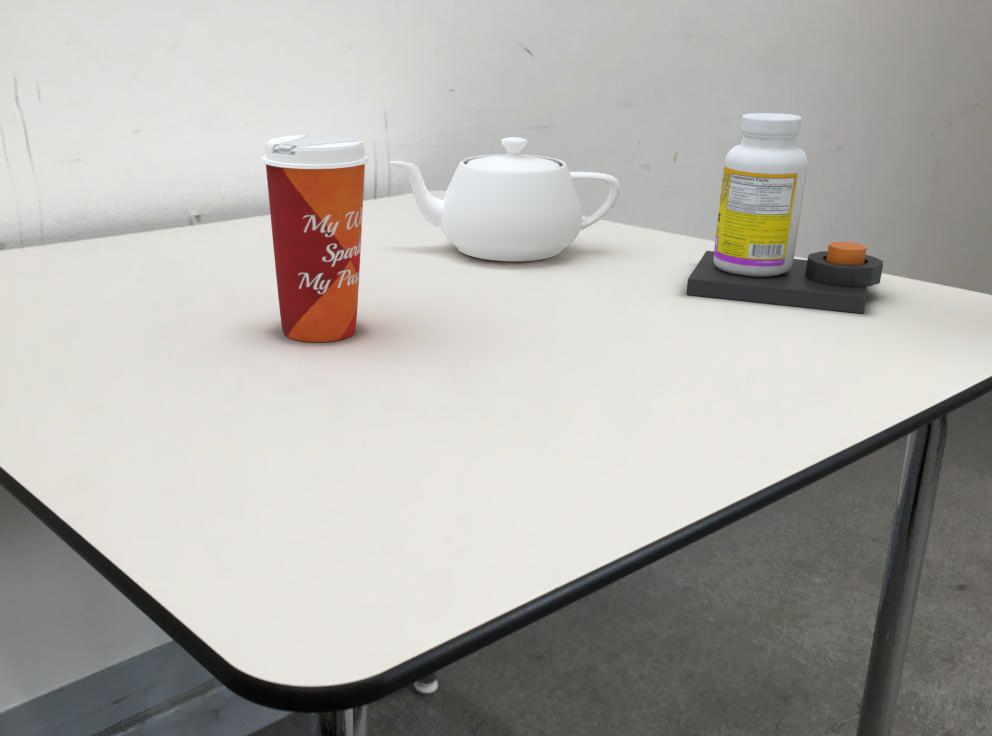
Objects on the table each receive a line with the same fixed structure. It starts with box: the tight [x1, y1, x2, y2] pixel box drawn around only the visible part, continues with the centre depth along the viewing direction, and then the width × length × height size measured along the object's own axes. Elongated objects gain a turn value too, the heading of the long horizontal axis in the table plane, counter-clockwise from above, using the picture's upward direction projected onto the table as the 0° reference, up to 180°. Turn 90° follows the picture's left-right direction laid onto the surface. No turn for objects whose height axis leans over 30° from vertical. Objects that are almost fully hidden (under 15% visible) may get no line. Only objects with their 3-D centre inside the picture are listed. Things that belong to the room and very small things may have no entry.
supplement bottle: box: [713, 112, 809, 277], centre depth 92 cm, size 7×7×13 cm
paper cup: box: [260, 134, 370, 343], centre depth 80 cm, size 8×8×14 cm
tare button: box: [826, 241, 868, 265], centre depth 92 cm, size 3×3×2 cm
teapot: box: [388, 136, 621, 262], centre depth 104 cm, size 22×14×11 cm, turn 88°
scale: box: [685, 250, 884, 314], centre depth 94 cm, size 15×11×3 cm
